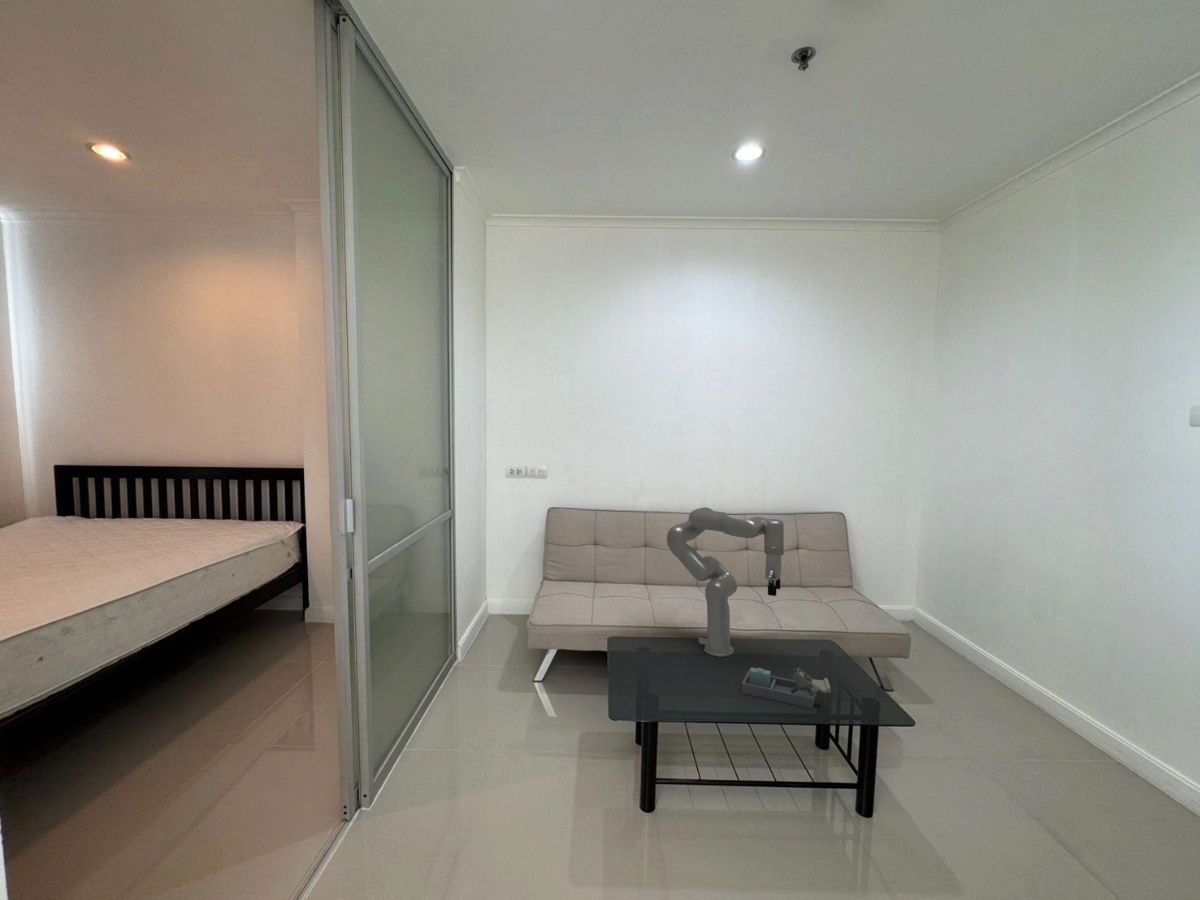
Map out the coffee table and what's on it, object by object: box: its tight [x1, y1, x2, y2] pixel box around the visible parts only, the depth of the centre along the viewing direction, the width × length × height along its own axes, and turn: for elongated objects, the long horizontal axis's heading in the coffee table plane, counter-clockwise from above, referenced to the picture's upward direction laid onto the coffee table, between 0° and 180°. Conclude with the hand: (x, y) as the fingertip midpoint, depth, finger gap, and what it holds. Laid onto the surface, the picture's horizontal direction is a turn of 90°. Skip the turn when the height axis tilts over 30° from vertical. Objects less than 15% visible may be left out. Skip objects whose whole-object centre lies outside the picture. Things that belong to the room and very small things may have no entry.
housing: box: [741, 667, 817, 710], centre depth 183 cm, size 24×11×8 cm, turn 62°
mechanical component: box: [790, 667, 821, 695], centre depth 178 cm, size 3×10×10 cm
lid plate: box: [812, 677, 832, 694], centre depth 188 cm, size 10×8×2 cm
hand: (774, 591), depth 205 cm, fingers open, 9 cm apart
